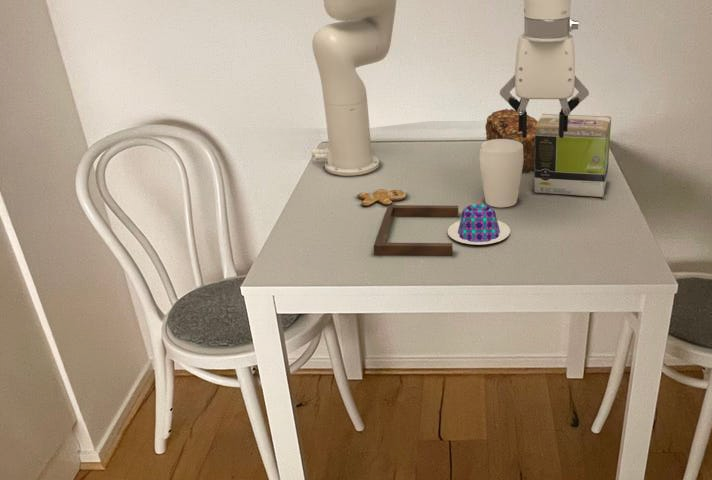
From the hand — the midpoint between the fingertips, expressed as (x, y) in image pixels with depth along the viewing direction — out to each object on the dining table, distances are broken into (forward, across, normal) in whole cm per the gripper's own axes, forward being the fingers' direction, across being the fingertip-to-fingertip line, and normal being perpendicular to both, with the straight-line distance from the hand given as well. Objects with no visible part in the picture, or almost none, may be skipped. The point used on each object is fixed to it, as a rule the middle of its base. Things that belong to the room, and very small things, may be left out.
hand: (542, 134), depth 134 cm
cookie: (+20, +32, -17) cm, 42 cm away
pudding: (+20, +12, 0) cm, 23 cm away
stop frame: (+20, +23, 0) cm, 30 cm away
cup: (+20, +8, -16) cm, 26 cm away
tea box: (+20, -8, -24) cm, 32 cm away
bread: (+20, +4, -42) cm, 47 cm away
